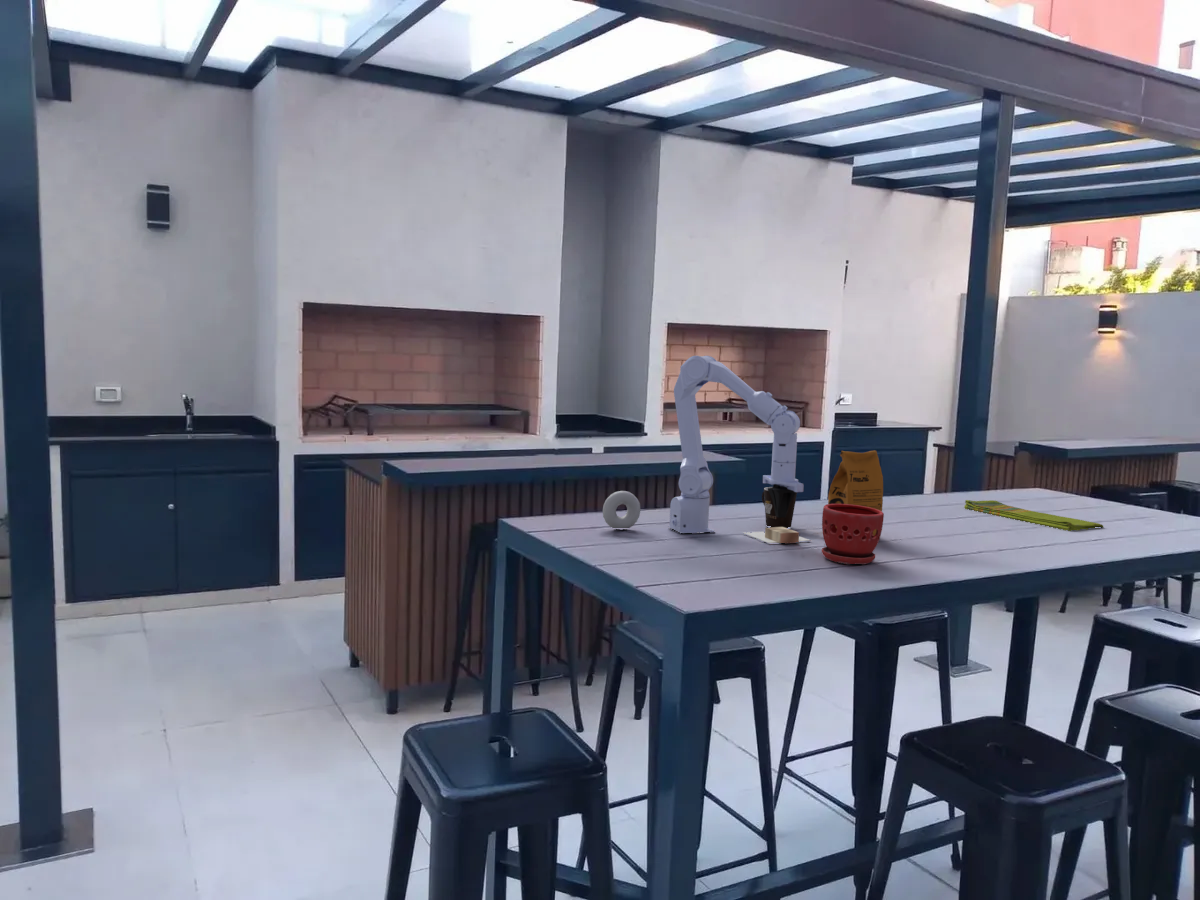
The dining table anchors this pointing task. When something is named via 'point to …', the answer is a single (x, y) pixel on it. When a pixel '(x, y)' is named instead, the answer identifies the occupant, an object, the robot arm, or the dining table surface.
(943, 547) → the dining table surface
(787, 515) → the coffee mug
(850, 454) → the coffee package
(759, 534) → the mat
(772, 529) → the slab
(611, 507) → the donut
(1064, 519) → the dish towel
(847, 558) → the plant pot
